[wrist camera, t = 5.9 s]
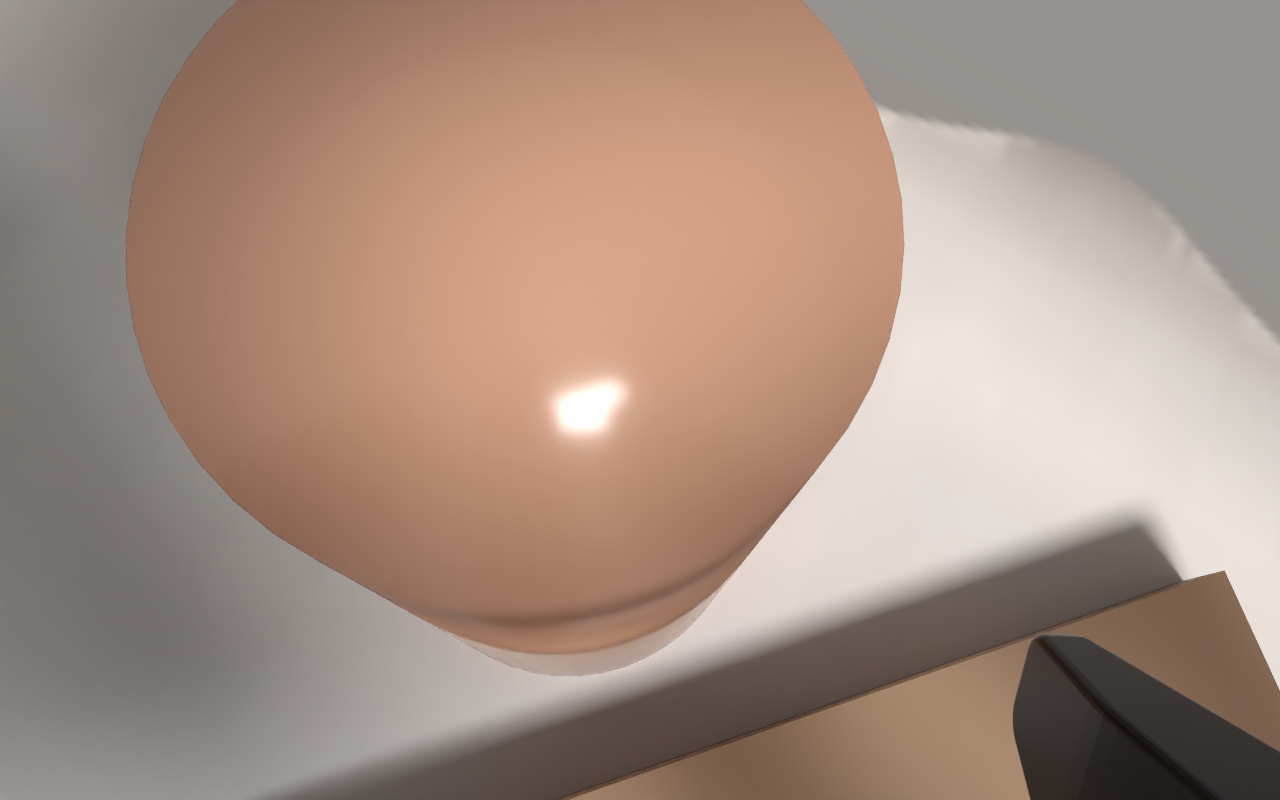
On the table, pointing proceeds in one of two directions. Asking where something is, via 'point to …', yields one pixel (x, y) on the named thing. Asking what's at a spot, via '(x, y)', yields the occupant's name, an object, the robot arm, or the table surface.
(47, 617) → the table surface
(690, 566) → the salmon pink cylinder
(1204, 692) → the walnut board
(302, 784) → the table surface
